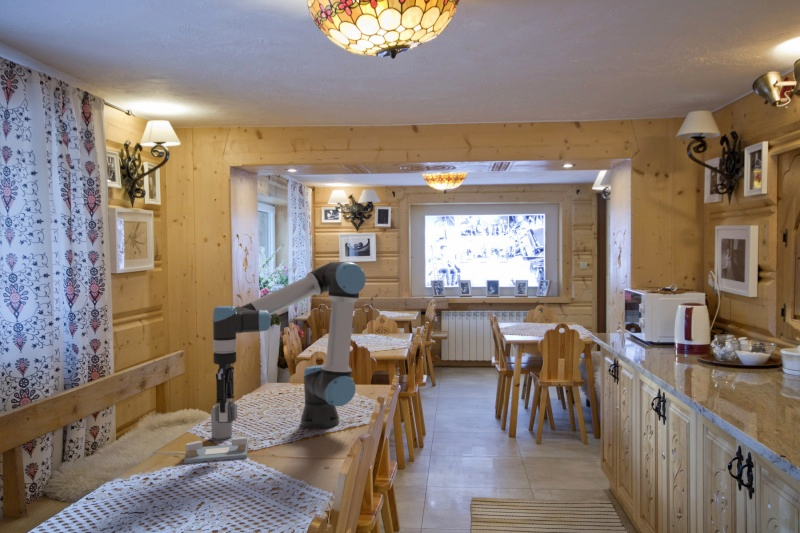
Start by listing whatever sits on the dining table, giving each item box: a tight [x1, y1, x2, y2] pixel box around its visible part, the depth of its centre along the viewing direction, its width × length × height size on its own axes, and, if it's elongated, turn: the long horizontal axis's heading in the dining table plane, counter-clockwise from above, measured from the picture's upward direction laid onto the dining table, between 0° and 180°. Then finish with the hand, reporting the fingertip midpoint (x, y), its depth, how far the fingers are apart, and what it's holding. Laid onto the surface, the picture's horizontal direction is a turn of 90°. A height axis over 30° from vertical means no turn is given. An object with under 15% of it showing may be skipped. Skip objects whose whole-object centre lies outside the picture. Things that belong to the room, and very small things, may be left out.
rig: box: [183, 436, 249, 465], centre depth 206 cm, size 20×12×5 cm, turn 102°
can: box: [210, 403, 233, 441], centre depth 225 cm, size 8×8×12 cm
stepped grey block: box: [214, 401, 238, 424], centre depth 206 cm, size 7×4×6 cm
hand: (225, 419), depth 206 cm, fingers closed on stepped grey block, 4 cm apart
